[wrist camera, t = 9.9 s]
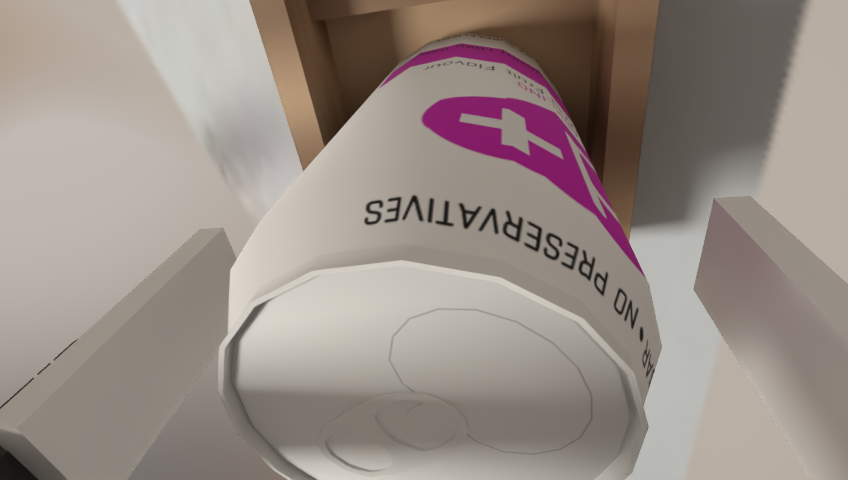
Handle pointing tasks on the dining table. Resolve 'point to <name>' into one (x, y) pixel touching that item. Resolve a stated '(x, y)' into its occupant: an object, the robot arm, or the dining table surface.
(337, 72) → the walnut caddy
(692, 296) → the dining table surface
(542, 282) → the supplement can
